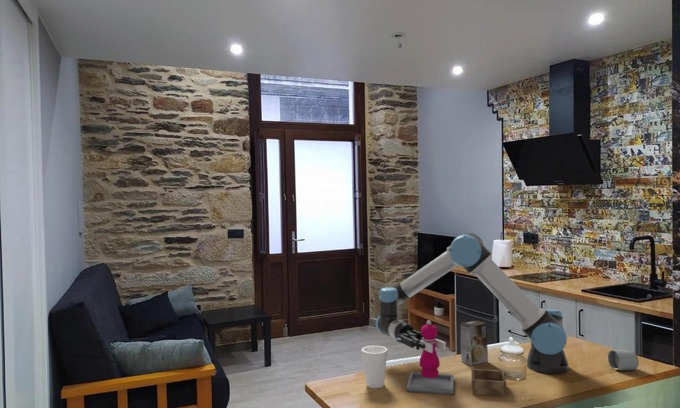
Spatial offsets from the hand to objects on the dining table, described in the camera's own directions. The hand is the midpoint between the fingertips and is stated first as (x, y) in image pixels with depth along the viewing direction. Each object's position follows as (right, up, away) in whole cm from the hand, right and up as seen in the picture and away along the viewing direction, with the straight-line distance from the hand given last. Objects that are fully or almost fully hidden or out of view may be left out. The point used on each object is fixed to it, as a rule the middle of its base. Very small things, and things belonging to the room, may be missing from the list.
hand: (438, 347), depth 166 cm
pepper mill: (-2, -12, +5) cm, 13 cm away
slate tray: (-2, -15, +5) cm, 16 cm away
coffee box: (+21, -15, +29) cm, 38 cm away
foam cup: (-22, -16, +7) cm, 28 cm away
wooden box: (+18, -15, 0) cm, 23 cm away
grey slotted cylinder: (+75, -14, +17) cm, 78 cm away
